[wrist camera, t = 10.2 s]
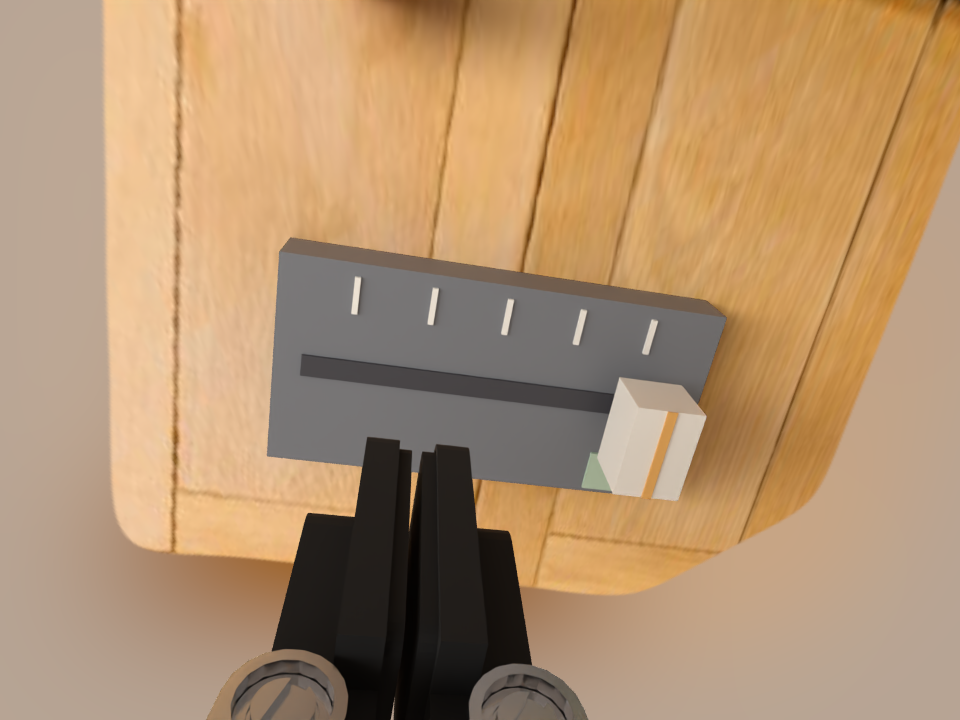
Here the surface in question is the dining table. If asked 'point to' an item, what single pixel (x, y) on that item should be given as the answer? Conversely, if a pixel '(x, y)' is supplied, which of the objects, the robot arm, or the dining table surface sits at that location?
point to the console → (467, 361)
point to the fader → (650, 439)
